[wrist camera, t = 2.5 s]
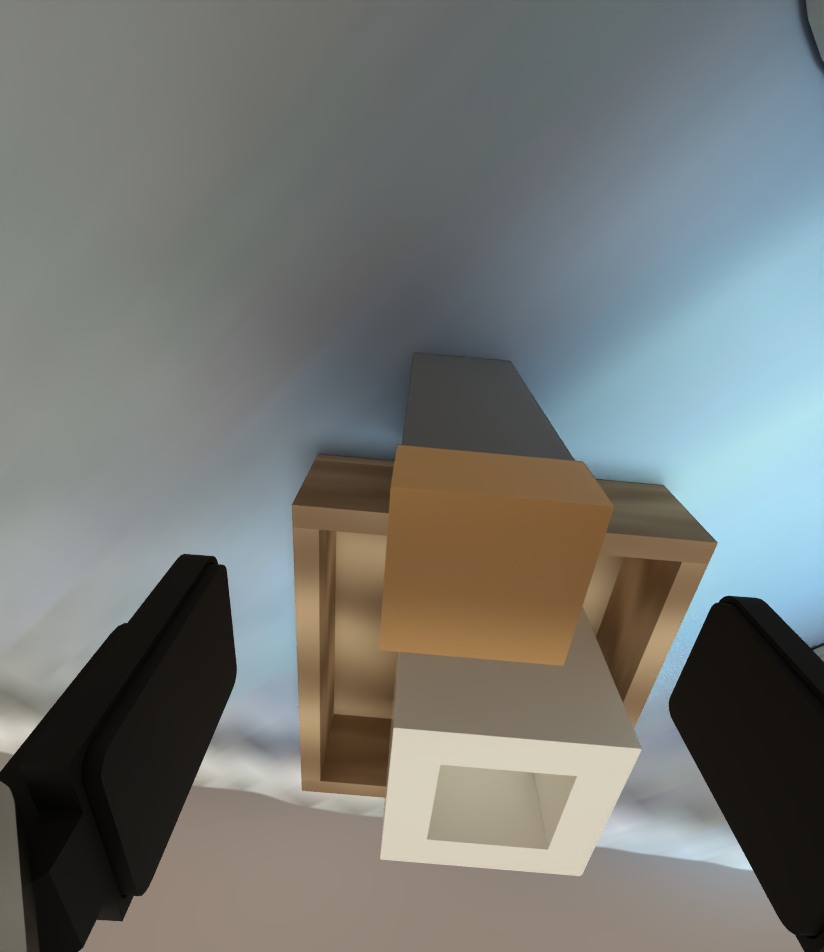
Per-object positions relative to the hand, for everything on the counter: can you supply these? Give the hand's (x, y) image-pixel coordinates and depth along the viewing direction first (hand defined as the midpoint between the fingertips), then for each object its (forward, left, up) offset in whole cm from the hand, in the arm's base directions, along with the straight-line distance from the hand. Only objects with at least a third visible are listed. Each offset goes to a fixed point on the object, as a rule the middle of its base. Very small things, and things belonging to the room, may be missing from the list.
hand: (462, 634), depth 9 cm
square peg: (-1, 0, -13) cm, 13 cm away
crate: (+11, +2, -13) cm, 17 cm away
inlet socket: (+13, +3, -12) cm, 19 cm away
